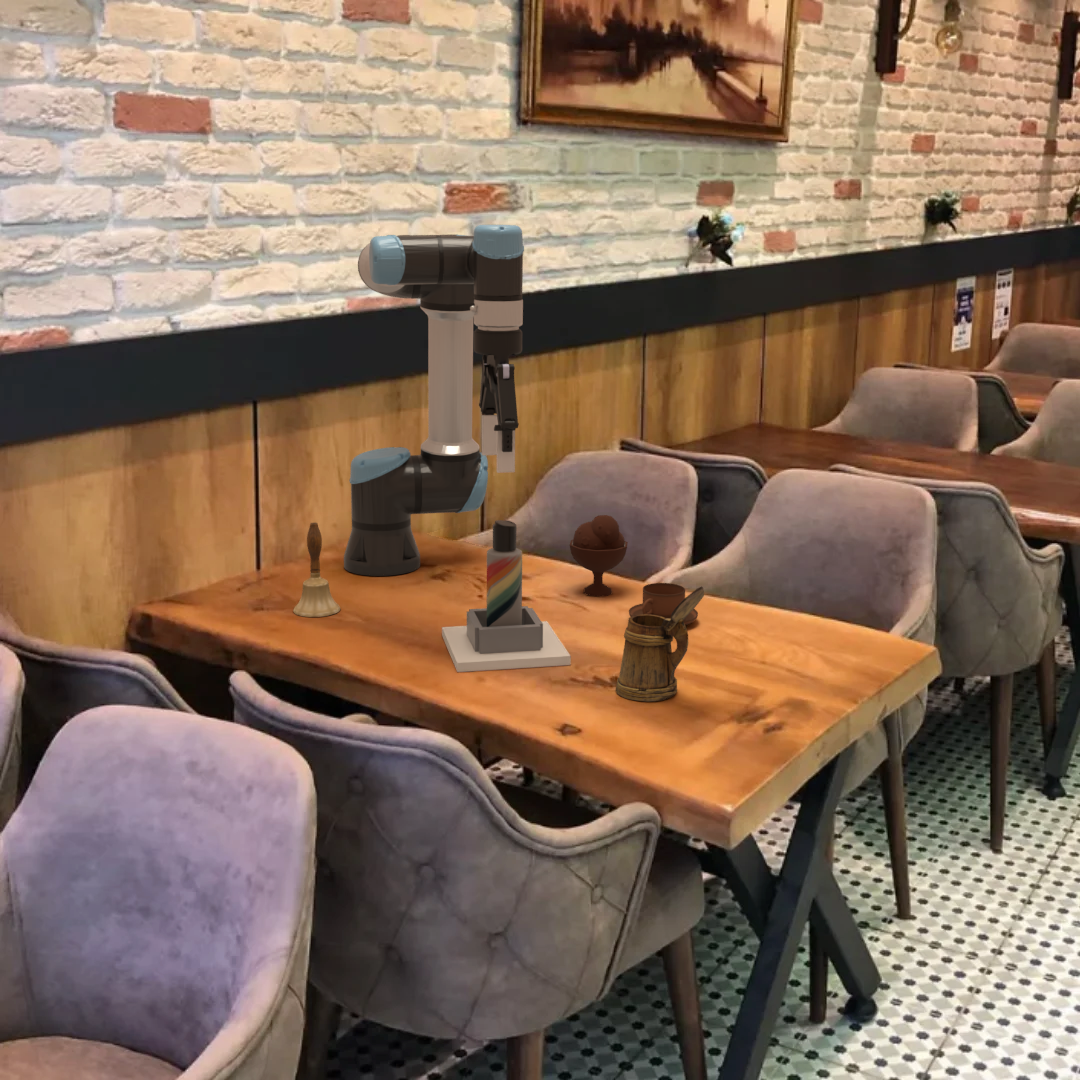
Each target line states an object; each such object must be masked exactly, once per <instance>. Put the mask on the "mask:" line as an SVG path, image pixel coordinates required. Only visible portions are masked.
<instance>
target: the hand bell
mask: <svg viewBox="0 0 1080 1080" xmlns="http://www.w3.org/2000/svg"><path fill="white" fill-rule="evenodd" d="M308 528H309V529H308V531H307V536H306V544H307V545H306V546H307V551H308V553H309V557H310V571H309V572H310V573H309V574H310V575H309V576H310V577H309V578H307V579H306V580H304V581H303V583H302V591H301V597H300V599H299V601H298V603H297V604H296V605H295V606H294V608H293V613H294V614H295V615H296V616H301V617H303V618H304V617H306V618H322V617H328V616H332V615H335V614H337V613H339V612H340V610H341V607H340V605H339V603H337V602H336V601H335V599H334V598H333V595H332V593H331V590H330V585H329V581H328V579H326V578H324V577H322V576H321V566H320V556H321V553H322V547H323V546H322V545H323V544H322V543H323V538H322V533H321V530H320V527H319V524H318V522H310V524H309V527H308Z"/></svg>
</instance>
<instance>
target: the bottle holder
mask: <svg viewBox="0 0 1080 1080" xmlns="http://www.w3.org/2000/svg"><path fill="white" fill-rule="evenodd" d="M441 636H442V639H443V642H444V644H445V646H446V649H447V651H448V653H449V655H450V659H451V661H452V662H453V663H452V664H453V665H454V668H455V670H456V672H457V673H465V672H478V671H479V672H481V671H497V670H510V669H511V670H512V669H513V670H514V669H525V668H526V669H529V668H540V667H541V668H542V667H543V668H545V667H559V666H571V663H572V662H571V660H572V659H571V653H569V651H568V650H567V649H566V647H565V645H564V644H563V642H562V641H561V640H560V639H559V637H558V635H557V634H556V633H555V630H553V627H552V626H551V625H550V623H549V622H548V621H547V620H545V621H542V620H541V619H540V617H539V616H538V614H537V613H536V611H535V610H534V609H533V607H529V606H528V605H525V606H523V605H522V625H514V626H497V627H487V607H483V608H470V609H469V610H468V611H466V625H457V626H441Z"/></svg>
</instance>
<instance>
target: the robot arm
mask: <svg viewBox="0 0 1080 1080" xmlns="http://www.w3.org/2000/svg"><path fill="white" fill-rule="evenodd" d="M524 252H525V246H524V242H523V230H522V228H521V227H520V226H519V225H516V224H478V225H476V226H475V227H474V230H473V235H465V234H464V235H463V234H458V233H457V234H417V235H415V234H412V235H411V234H399V235H396V234H388V235H377V236H376V235H375V236H373V237H372V238H371V240H370V242H369V243H368V244H366V246H365V247H363V248H362V250H361V251H360V254H359V256H358V260H357V271H358V274H359V277H360V279H361V281H362V282H363V283H364V284H365V286H367V288H369V289H370V290H372V291H374V292H377V293H378V294H380V295H384V296H387V297H392V298H399V299H414V300H415V299H416V300H417V299H419V300H420V301H419V305H420V309H421V310H422V311H423V312H424V313H425V315H427V319H428V324H427V325H428V330H427V331H428V338H427V339H428V349H427V350H428V351H427V352H428V354H427V355H428V357H427V359H428V367H427V369H428V373H427V374H428V383H427V385H428V389H427V390H428V394H427V395H428V398H427V399H428V408H427V409H428V414H427V415H428V422H427V423H428V425H427V426H428V433H427V436H428V437H427V438H426V440H423V442H422V443H421V444H420V454H416V455H413V454H411V452H410V449H408V448H406V447H401V446H398V447H394V446H393V447H390V446H389V447H383V448H375V449H372V450H367V451H364V452H361V453H359V454H358V455H355V456H354V457H353V459H352V460H351V462H350V473H349V474H350V476H349V477H350V478H349V484H350V495H351V496H350V503H351V506H350V507H351V508H350V509H351V513H350V514H351V532H350V535H349V537H348V541H347V545H346V547H345V548H346V549H345V551H344V555H343V568H344V570H345V571H347V572H350V573H353V574H356V575H361V576H370V577H371V576H372V577H373V576H374V577H383V576H384V577H385V576H398V575H404V574H408V573H411V572H414V571H416V570H418V569H419V568H420V567H421V553H420V551H419V548H418V545H417V542H416V539H415V537H414V534H413V531H412V523H411V522H412V521H411V520H412V519H411V515H422V514H423V515H425V514H444V513H445V514H446V513H447V514H448V513H449V514H450V513H454V514H461V513H466V512H474V511H476V510H479V508H481V506H482V504H483V503H484V500H485V498H486V497H485V496H486V493H487V487H488V479H489V477H488V476H489V472H488V468H489V463H488V461H489V460H488V457H487V456H496V473H497V474H499V473H515V472H516V429H518V428H519V418H518V407H517V395H516V385H515V384H516V383H515V365H514V363H510V358H509V357H510V356H511V355H512V356H515V355H520V354H521V353H522V352H523V331H522V329H520V327H521V326H523V325H524V324H523V322H524V321H523V318H524V317H523V316H524V312H523V310H524V300H523V280H524V279H523V274H524V273H523V272H524V271H523V268H524V267H523V265H524V264H523V263H524V261H523V260H524ZM474 325H475V326H476V327H477V328H475V329H474ZM474 353H476V354H478V355H481V356H482V370H481V371H482V372H481V382H480V394H479V403H478V406H479V409H480V412H481V451H480V445H479V443H478V442H476V440H474V438H473V386H474V385H473V382H474V380H473V378H474V377H473V375H474V374H473V373H474V372H473V371H474V370H473V369H474V367H473V366H474Z"/></svg>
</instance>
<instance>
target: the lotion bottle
mask: <svg viewBox="0 0 1080 1080" xmlns="http://www.w3.org/2000/svg"><path fill="white" fill-rule="evenodd" d="M517 526H518V525H517V524H516V523H515V522H513V521H511V520H503V519H502V520H501V519H498V520H495V521H494V523H493V524H492V548H489V549H488V550H487V551H486V608H487V627H497V626H514V625H522V606H523V551H522V550H521V549H520V548H517V529H518V528H517Z"/></svg>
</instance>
